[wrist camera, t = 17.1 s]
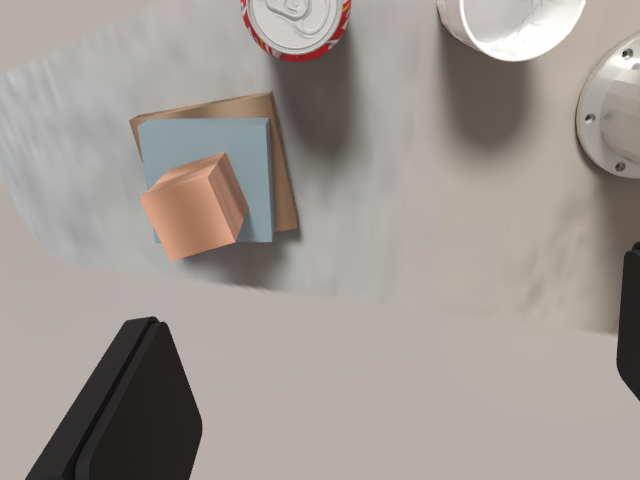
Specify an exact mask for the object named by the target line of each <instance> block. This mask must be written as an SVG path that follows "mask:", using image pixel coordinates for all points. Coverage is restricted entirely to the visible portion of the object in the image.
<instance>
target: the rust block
mask: <svg viewBox="0 0 640 480" xmlns="http://www.w3.org/2000/svg"><path fill="white" fill-rule="evenodd" d="M140 201H141V203H142V205H143V207H144V209H145V211H146V213H147V215H148V217H149V219H150V221H151V223H152V225H153V227H154V229H155V231H156V233H157V235H158V237H159V239H160V241H161V243H162V245H163V247H164V249H165V251H166V253H167V255H168V257H169V259H170V261H174V260H178V259H181V258H184V257H188V256H191V255H194V254H198V253H201V252H204V251H208V250H211V249H214V248H218V247H221V246H224V245H228V244H231V243H234V242H236V239H237V237H238V234H239V231H240V229H241V226H242V223H243V221H244V218H245V215H246V213H247V210H248V204H247V202H246V200H245V197H244V195H243V192H242V190H241V187H240V185H239V182H238V180H237V177H236V175H235V173H234V170H233V168H232V165H231V163H230V160H229V158H228V155H227V153H226V151H224V152H221V153H218V154H215V155H212V156H209V157H206V158H203V159H200V160H197V161H193V162H190V163H187V164H184V165H181V166H178V167H175V168H172V169H169V170H167V172H166V173H165V174H164V175H163V176H162V177H161V178H160V179H159V180H158V181H157V182H156V183H155V184H154V185H153V186H152V187H151V188H150V189H149V190H148V191H147V192H146V193H145V194H144V195H143V196H142V197H141V198H140Z"/></svg>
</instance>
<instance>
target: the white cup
mask: <svg viewBox="0 0 640 480" xmlns="http://www.w3.org/2000/svg"><path fill="white" fill-rule="evenodd" d="M585 2H586V0H438V1H437V6H438V10H439V14H440V18H441V22H442V24H443V25H444V26H445V27H446V29H447V30H448V31H449V32H450V33H451V34H452V35H453V37H455V38H457V39H459V40H460V41H461V42H463V43H464V44H466V45H468V46H470V47H471V48H473V49H475V50H477V51H480V52H482V53H484V54H486V55H489V56H491V57H493V58H495V59H499V60H503V61H510V62H517V61H525V60H529V59H533V58H536V57H538V56H540V55H543V54H544V53H546V52H548V51H550V50H551V49H553V48H554V47H555V46H557V45H558V44H559V43H560V42H561V41H562V40H563V39H564V38H565V37H566V36H567V35H568V34H569V33H570V31H571V30H572V29H573V27H574V26H575V24H576V23H577V21H578V19H579V17H580V15H581V13H582V11H583V8H584V5H585Z"/></svg>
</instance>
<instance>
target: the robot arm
mask: <svg viewBox="0 0 640 480" xmlns="http://www.w3.org/2000/svg"><path fill="white" fill-rule="evenodd" d="M623 52H625V53H624V55H623V56H622V54H623ZM587 115H588V118H587V119H586V116H587ZM585 119H586V120H585ZM576 125H577V133H578V137H579V140H580V143H581V146H582V148H583V149H584V151H585V152H586V154H587V155H588V157H589V158H590V159H591V160H592V161H593V162H594V163H595V164H596V165H598V166H600V167H601V168H603V169H604V170H606V171H608V172H610V173H612V174H614V175H617V176H621V177H626V178H634V179H640V33H638V34H636V35H634V36H632V37H630V38H629V39H627V40H625V41H623V42H622V43H620V44H619V45H618V46H616V47H615V48H614V49H613V50H611V51H610V52H609V53H608V54H607V55H606V56H605V57H604V58H603V59H602V60H601V61H600V63H599V64H598V65H597V66H596V67H595V69H594V70H593V72H592V73H591V75H590V76H589V78H588V79H587V81H586V84H585V86H584V88H583V90H582V92H581V95H580V99H579V103H578V107H577V117H576ZM617 368H618V371H619V374H620V376H621V378H622V380H623V381H624V382H625V383H626V385H627V386H628V387H629V388H630V390H631V391H632V392H633V393H634V394H635V396H636V397H637V398H638V400H639V401H640V242H637V243H636V244H634V246H633V248H632V250H631V251H628V252H626V254H625V256H624V265H623V279H622V292H621V306H620V319H619V333H618V346H617ZM201 436H202V420H201V416H200V413H199V410H198V408H197V405H196V402H195V400H194V397H193V394H192V391H191V388H190V385H189V383H188V380H187V377H186V375H185V372H184V369H183V366H182V364H181V360H180V358H179V355H178V352H177V349H176V347H175V344H174V341H173V338H172V335H171V333H170V330H169V327H168V325H167V324H166V323H165V322H159V321H158V319H157V318H156V317H146V318H139V319H133V320H127V321H126V322H125V323H124V324H123V326H122V327H121V329H120V330H119V332H118V333H117V335H116V337H115V338H114V340H113V341H112V343H111V344H110V346H109V348H108V349H107V351H106V352H105V354H104V356H103V357H102V359H101V360H100V362H99V363H98V365H97V367H96V368H95V370H94V371H93V373H92V374H91V376H90V378H89V379H88V381H87V382H86V384H85V386H84V387H83V389H82V390H81V392H80V393H79V395H78V397H77V398H76V400H75V401H74V403H73V404H72V406H71V407H70V409H69V411H68V412H67V414H66V415H65V417H64V419H63V420H62V422H61V423H60V425H59V426H58V428H57V430H56V431H55V433H54V434H53V436H52V437H51V439H50V441H49V442H48V444H47V446H46V447H45V448H44V450H43V452H42V454H41V455H40V456H39V458H38V460H37V461H36V463H35V464H34V466H33V467H32V469H31V471H30V472H29V474H28V475H27V477H26V479H25V480H189V478H190V475H191V471H192V468H193V464H194V461H195V457H196V454H197V450H198V447H199V443H200V440H201Z"/></svg>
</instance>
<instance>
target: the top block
mask: <svg viewBox="0 0 640 480" xmlns="http://www.w3.org/2000/svg"><path fill="white" fill-rule="evenodd" d="M137 128H138V134H139V140H140V147H141V153H142V159H143V165H144V172H145V178H146V184H147V190H149V189H150V188H151V187H152V186H153V185H154V184H155V183H156V182H157V181H158V180H159V179H160V178H161V177H162V176H163V175H164V174H165V173H166V172H167V170H169V169H172V168H175V167H178V166H181V165H184V164H187V163H190V162H193V161H197V160H200V159H203V158H206V157H209V156H212V155H215V154H218V153H221V152H224V151H226V153H227V155H228V158H229V160H230V163H231V165H232V168H233V170H234V173H235V175H236V177H237V180H238V182H239V185H240V187H241V190H242V192H243V195H244V197H245V200H246V202H247V204H248V210H247V213H246V215H245V218H244V221H243V223H242V226H241V229H240V231H239V234H238V237H237V239H236V242H272V240H273V235H274V231H275V218H274V199H273V179H272V160H271V141H270V122H269V118H176V119H148V120H147V121H145V122H143V123H142V124H140V125H139V126H137ZM153 228H154V227H153ZM154 234H155V240H156V243H161V241H160V239H159V237H158V235H157V233H156V231H155V229H154Z"/></svg>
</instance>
